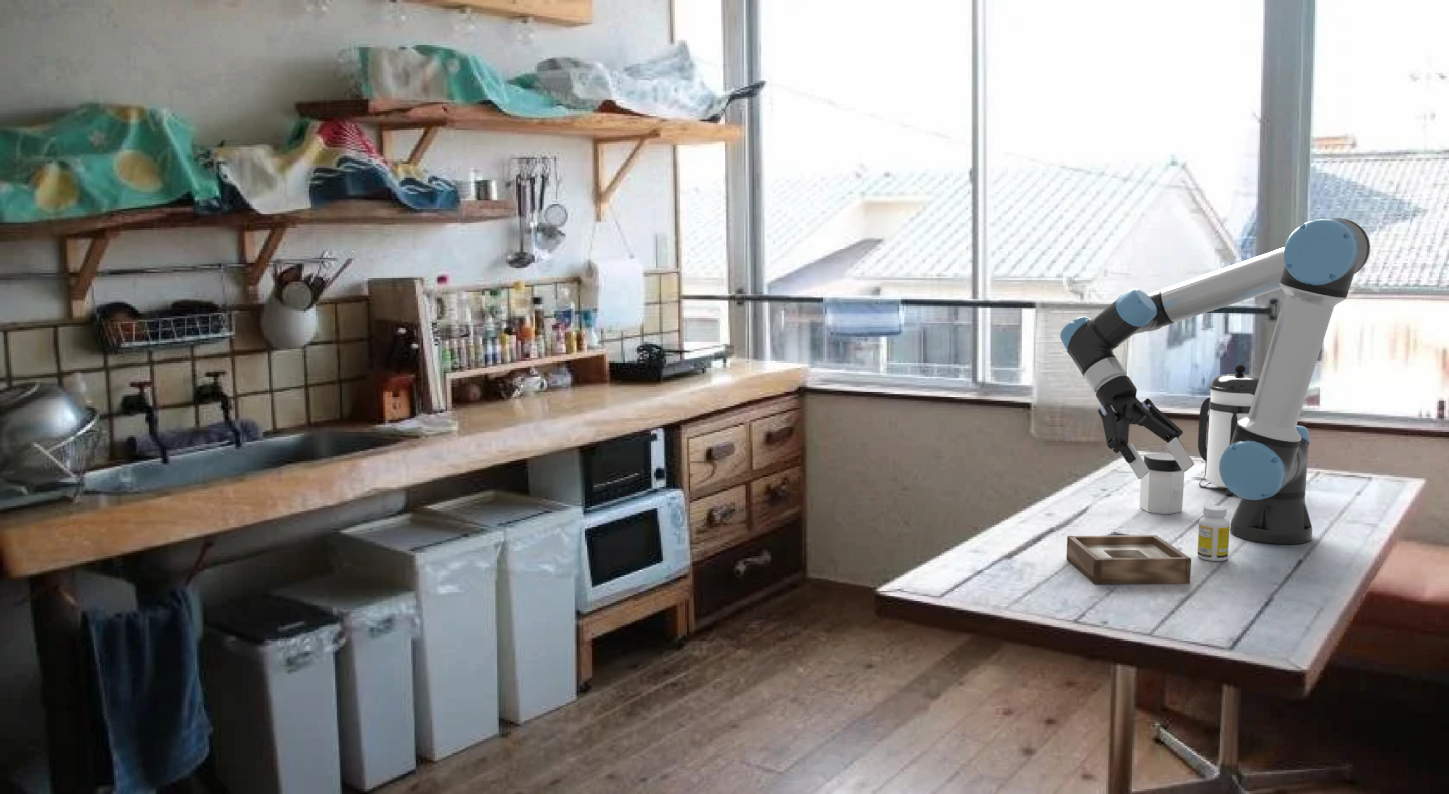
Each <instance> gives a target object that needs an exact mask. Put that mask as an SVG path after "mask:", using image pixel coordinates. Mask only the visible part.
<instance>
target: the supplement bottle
mask: <svg viewBox="0 0 1449 794" xmlns="http://www.w3.org/2000/svg"><path fill="white" fill-rule="evenodd" d="M1203 515H1204V516H1203V517H1201V518H1200V519H1199V521H1198V532H1197V533H1198V534H1197V556H1198V558H1200V559H1202V560H1204V561H1210V562H1222V561H1223V562H1224V561H1227V560H1228V557H1229V544H1230V543H1229V541H1230V526H1231V523H1230V521H1229V520H1228V519H1227V518H1225V517H1227V508H1226V507H1225V506H1222V505H1213V504H1212V505H1209V504H1208V505H1205V506H1203Z"/></svg>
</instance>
